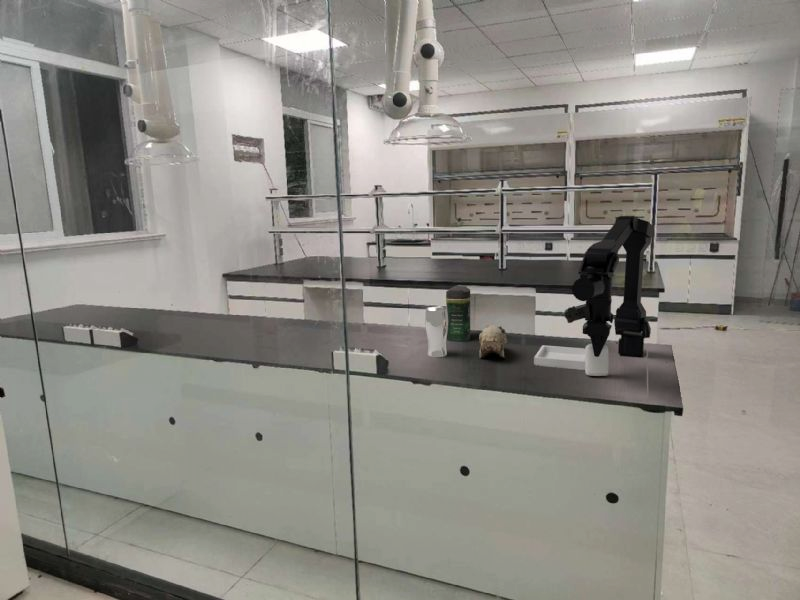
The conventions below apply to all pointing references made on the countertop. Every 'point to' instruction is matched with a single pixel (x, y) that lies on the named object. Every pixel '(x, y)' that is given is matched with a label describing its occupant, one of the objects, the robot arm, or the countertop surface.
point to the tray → (561, 357)
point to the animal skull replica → (492, 341)
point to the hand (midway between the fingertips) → (597, 354)
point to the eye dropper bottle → (596, 362)
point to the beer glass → (436, 330)
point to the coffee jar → (458, 313)
